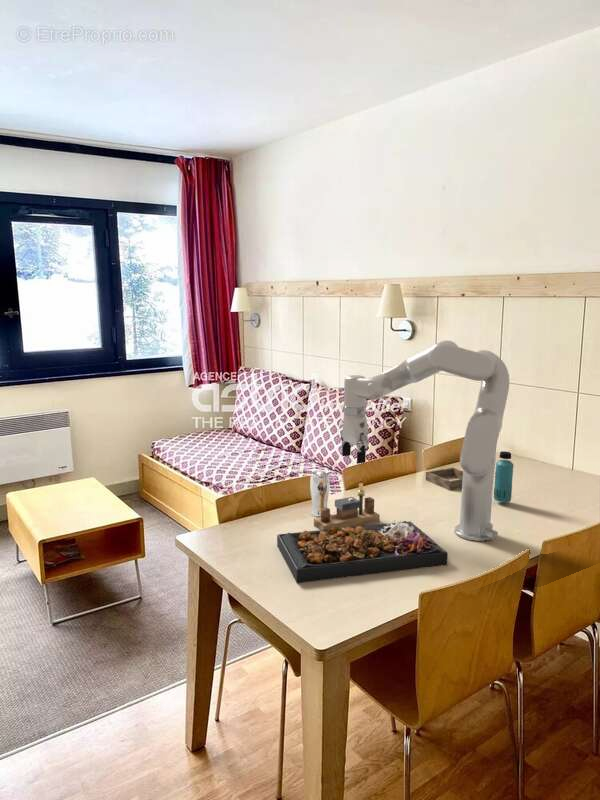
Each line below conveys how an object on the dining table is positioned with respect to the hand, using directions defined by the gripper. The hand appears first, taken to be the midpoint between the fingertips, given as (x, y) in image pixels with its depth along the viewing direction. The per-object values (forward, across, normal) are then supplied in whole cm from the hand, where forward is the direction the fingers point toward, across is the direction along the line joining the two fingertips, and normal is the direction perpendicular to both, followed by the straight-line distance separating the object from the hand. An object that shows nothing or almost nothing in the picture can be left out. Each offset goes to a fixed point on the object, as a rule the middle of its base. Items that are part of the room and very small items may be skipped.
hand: (353, 459), depth 204 cm
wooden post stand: (+20, -7, +6) cm, 22 cm away
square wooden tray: (+20, +12, -56) cm, 61 cm away
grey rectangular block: (+14, -7, +6) cm, 17 cm away
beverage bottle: (+20, -16, -57) cm, 62 cm away
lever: (+11, -4, -1) cm, 12 cm away
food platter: (+21, -29, +16) cm, 40 cm away
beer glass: (+20, +5, +10) cm, 24 cm away
